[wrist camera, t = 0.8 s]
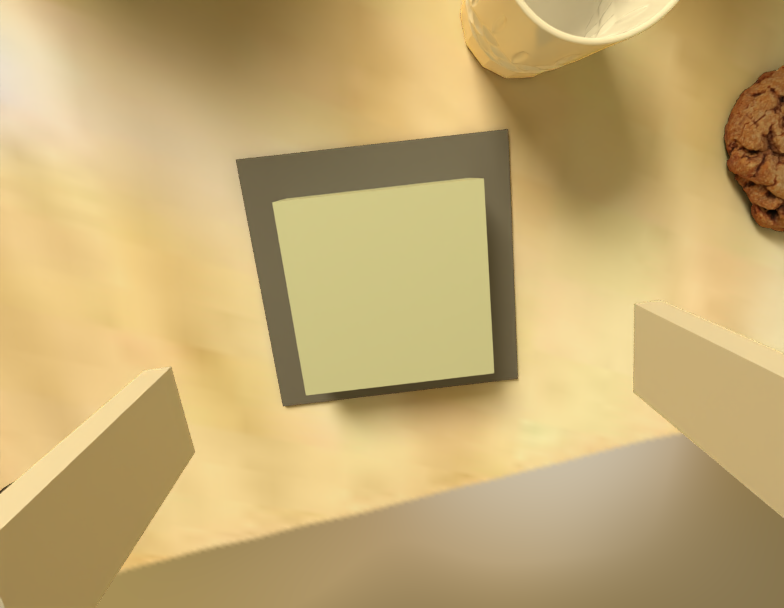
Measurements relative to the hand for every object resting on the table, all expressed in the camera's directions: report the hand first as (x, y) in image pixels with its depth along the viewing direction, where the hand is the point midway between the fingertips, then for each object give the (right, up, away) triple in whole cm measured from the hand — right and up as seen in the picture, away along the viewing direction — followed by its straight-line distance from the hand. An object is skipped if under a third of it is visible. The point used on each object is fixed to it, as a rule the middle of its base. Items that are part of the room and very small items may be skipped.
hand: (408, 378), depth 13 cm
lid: (-1, +4, +16) cm, 17 cm away
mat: (-1, +4, +17) cm, 17 cm away
